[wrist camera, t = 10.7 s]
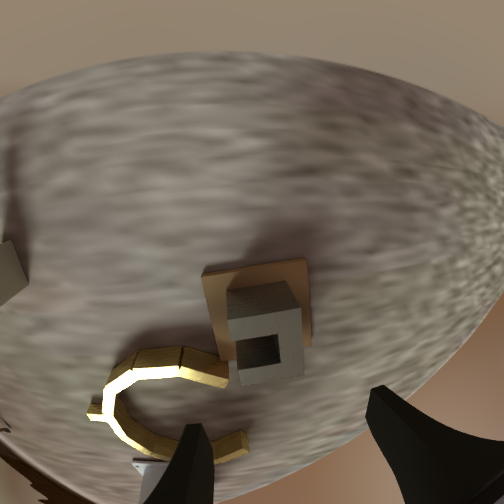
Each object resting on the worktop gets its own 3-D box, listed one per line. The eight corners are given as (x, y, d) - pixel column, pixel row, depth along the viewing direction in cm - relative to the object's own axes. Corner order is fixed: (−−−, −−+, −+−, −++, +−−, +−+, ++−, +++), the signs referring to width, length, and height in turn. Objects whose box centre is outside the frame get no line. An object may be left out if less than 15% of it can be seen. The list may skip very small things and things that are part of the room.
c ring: (249, 442, 24) (252, 460, 22) (120, 445, 23) (116, 461, 21) (223, 340, 20) (224, 360, 18) (61, 352, 19) (50, 368, 17)
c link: (291, 340, 20) (304, 374, 16) (237, 350, 20) (241, 386, 16) (285, 280, 19) (301, 307, 15) (226, 289, 18) (227, 320, 15)
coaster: (309, 341, 21) (311, 345, 20) (220, 356, 21) (220, 361, 20) (304, 257, 19) (306, 259, 18) (201, 273, 19) (201, 277, 18)
